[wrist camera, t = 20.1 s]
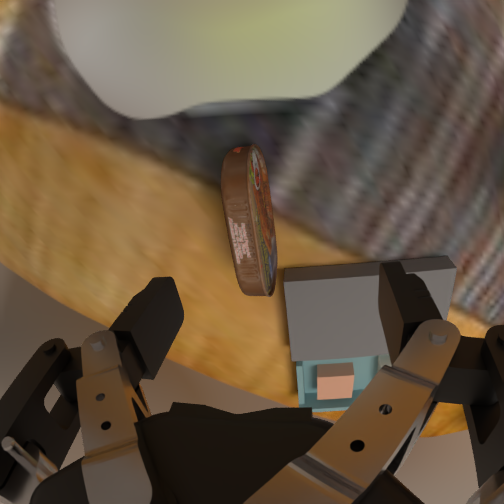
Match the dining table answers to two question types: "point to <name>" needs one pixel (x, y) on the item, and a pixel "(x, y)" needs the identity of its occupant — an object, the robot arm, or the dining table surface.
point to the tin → (249, 220)
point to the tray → (308, 382)
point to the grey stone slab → (350, 306)
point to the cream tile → (383, 361)
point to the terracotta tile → (335, 380)
